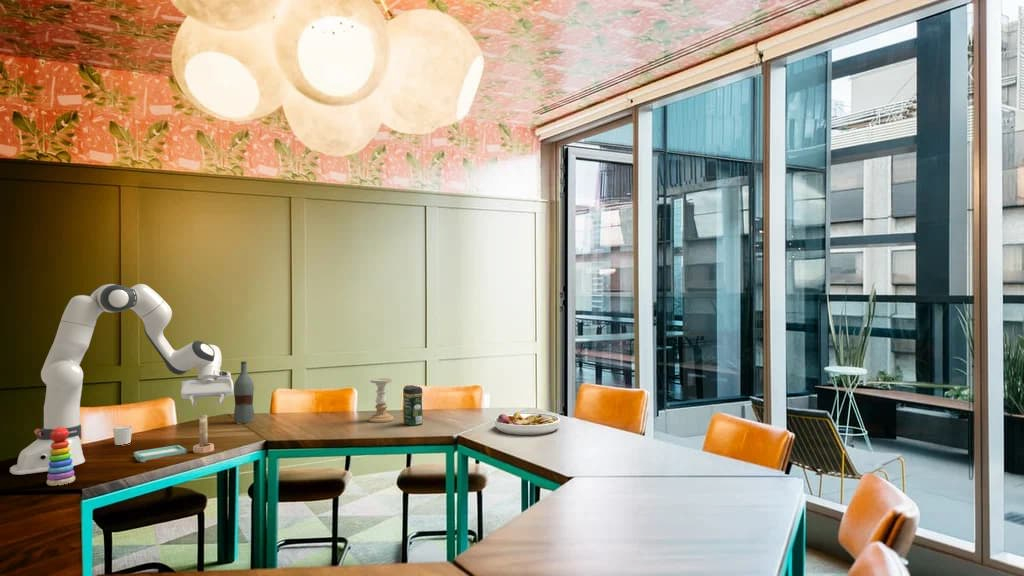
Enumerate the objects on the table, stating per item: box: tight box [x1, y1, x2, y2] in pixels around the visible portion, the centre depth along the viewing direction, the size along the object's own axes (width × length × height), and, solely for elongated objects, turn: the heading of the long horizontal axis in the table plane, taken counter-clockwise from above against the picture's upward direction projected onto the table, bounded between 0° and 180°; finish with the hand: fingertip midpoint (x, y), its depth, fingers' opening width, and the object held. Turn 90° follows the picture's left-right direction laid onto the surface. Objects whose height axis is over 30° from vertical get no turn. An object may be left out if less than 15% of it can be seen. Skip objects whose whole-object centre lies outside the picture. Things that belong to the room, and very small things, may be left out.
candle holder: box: [368, 378, 395, 424], centre depth 317 cm, size 12×12×20 cm
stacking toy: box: [46, 427, 76, 487], centre depth 215 cm, size 8×8×19 cm
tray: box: [133, 444, 188, 463], centre depth 249 cm, size 16×11×2 cm
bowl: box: [494, 412, 561, 436], centre depth 293 cm, size 30×30×8 cm
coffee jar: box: [402, 384, 424, 427], centre depth 307 cm, size 10×8×19 cm
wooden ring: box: [192, 442, 215, 454], centre depth 254 cm, size 7×7×3 cm
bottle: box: [233, 361, 255, 424], centre depth 315 cm, size 9×9×30 cm
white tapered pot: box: [112, 425, 133, 446], centre depth 271 cm, size 7×7×7 cm
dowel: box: [199, 414, 208, 447], centre depth 255 cm, size 3×3×14 cm
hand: (206, 404), depth 265 cm, fingers open, 8 cm apart
